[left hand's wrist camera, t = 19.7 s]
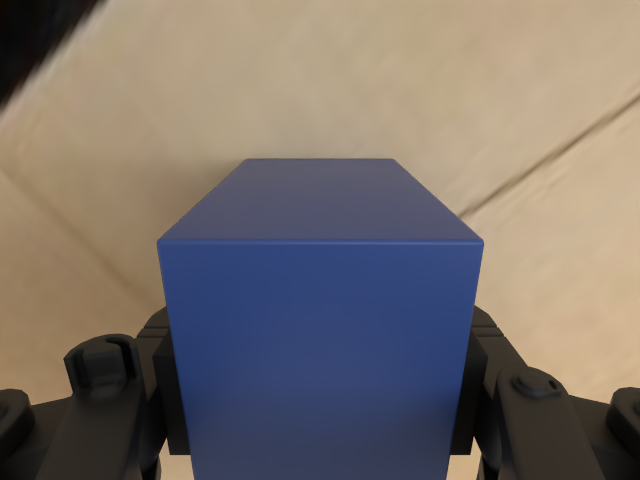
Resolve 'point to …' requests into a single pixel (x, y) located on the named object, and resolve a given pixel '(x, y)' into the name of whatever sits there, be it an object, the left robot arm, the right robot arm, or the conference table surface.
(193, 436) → the brick
